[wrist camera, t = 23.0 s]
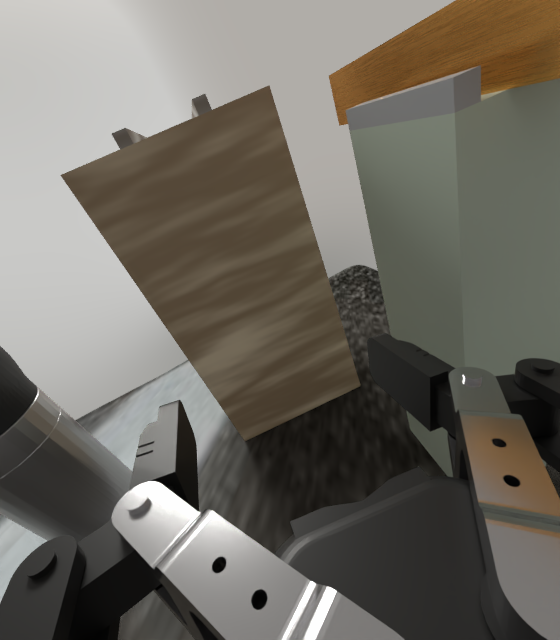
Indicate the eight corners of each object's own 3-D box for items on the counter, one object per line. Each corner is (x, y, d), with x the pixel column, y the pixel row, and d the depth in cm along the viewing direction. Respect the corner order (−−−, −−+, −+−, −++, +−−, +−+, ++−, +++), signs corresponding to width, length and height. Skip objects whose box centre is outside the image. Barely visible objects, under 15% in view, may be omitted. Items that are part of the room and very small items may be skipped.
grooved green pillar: (545, 466, 25) (641, -6, 10) (470, 504, 25) (453, 77, 10) (469, 400, 32) (459, 60, 17) (410, 429, 32) (345, 110, 17)
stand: (360, 385, 38) (264, 68, 21) (245, 441, 38) (50, 160, 21) (320, 331, 50) (238, 100, 33) (232, 372, 50) (101, 159, 33)
